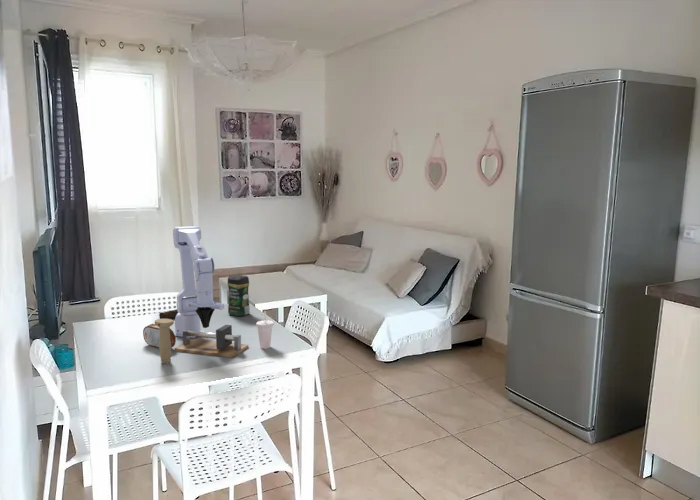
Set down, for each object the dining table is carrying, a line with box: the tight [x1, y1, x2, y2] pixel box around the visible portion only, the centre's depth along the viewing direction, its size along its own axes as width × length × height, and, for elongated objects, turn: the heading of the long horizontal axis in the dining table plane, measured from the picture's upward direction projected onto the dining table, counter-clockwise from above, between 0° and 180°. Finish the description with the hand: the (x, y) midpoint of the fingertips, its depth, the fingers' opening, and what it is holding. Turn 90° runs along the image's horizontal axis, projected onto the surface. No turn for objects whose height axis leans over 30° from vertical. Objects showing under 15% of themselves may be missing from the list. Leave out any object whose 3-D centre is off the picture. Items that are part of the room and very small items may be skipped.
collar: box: [215, 324, 233, 350], centre depth 198 cm, size 2×7×7 cm, turn 164°
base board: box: [174, 338, 249, 359], centre depth 201 cm, size 24×12×1 cm, turn 74°
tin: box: [142, 323, 177, 349], centre depth 202 cm, size 15×3×8 cm, turn 61°
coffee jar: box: [227, 273, 251, 317], centre depth 246 cm, size 10×8×19 cm
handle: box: [154, 318, 175, 365], centre depth 186 cm, size 5×6×15 cm
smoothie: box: [256, 311, 274, 350], centre depth 202 cm, size 6×6×14 cm
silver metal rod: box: [182, 329, 242, 351], centre depth 200 cm, size 23×2×5 cm, turn 74°
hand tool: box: [158, 308, 178, 319], centre depth 243 cm, size 19×4×5 cm, turn 140°
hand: (205, 327), depth 197 cm, fingers closed
